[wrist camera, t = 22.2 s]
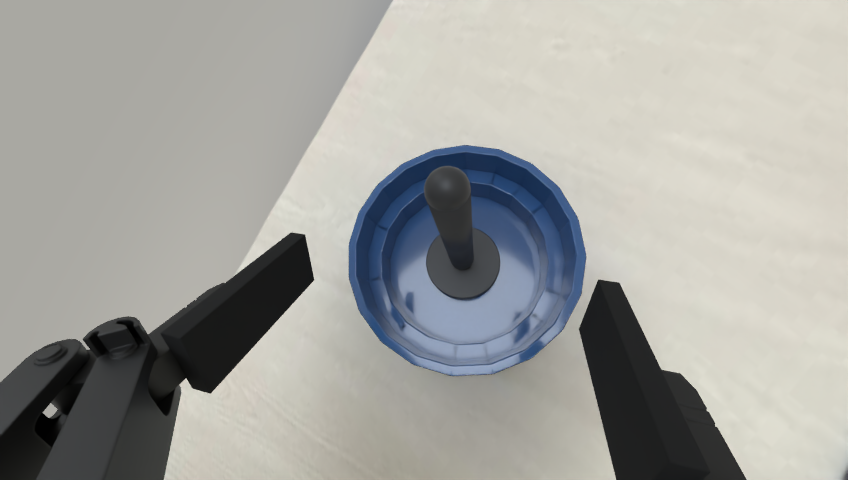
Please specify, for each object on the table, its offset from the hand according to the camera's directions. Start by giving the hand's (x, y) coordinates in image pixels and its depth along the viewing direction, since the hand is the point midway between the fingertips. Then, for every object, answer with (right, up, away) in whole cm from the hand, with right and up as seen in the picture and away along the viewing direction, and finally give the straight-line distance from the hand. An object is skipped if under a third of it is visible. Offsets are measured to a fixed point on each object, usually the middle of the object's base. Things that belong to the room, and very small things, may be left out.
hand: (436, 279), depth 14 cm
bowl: (+3, 0, +13) cm, 13 cm away
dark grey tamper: (+3, 0, +12) cm, 13 cm away
